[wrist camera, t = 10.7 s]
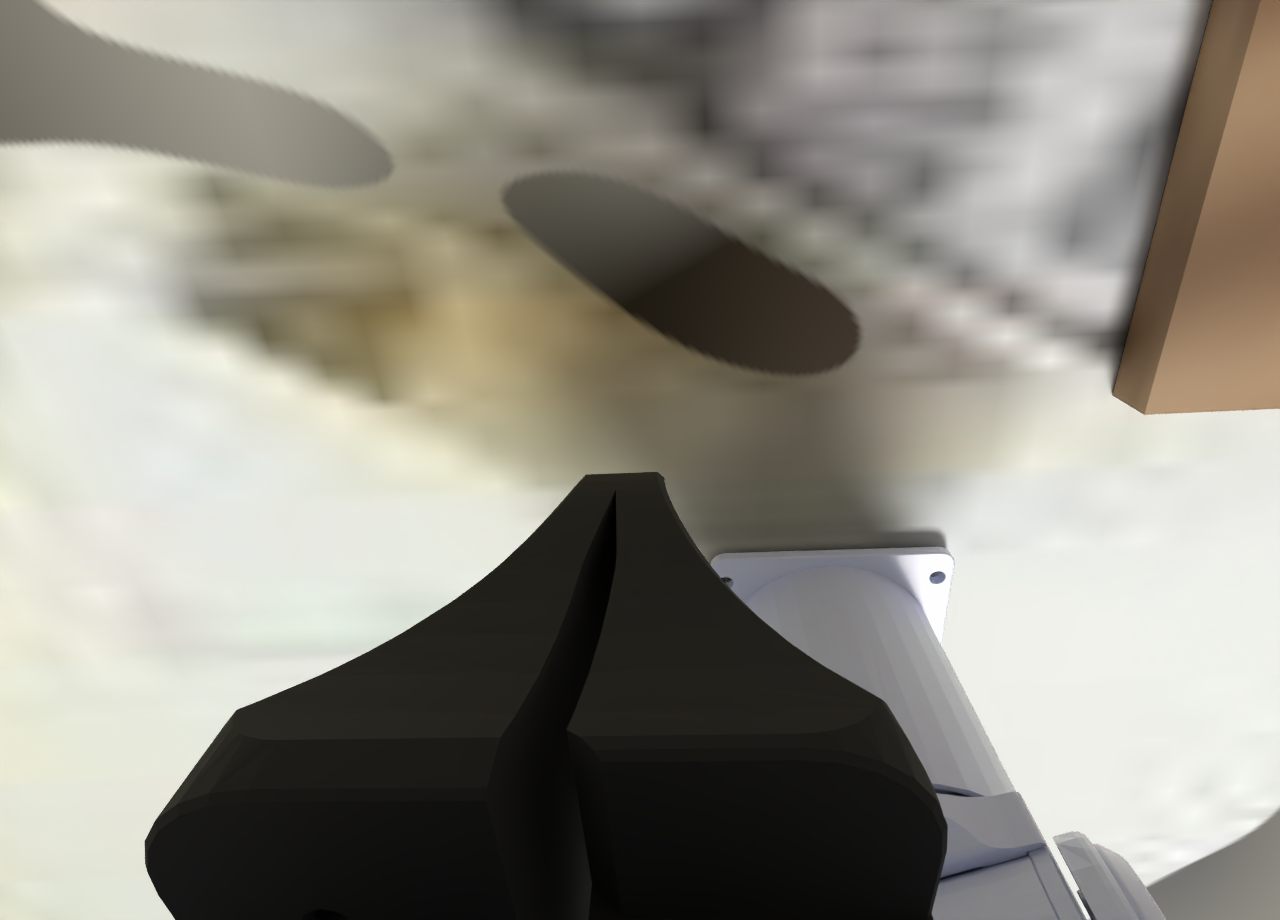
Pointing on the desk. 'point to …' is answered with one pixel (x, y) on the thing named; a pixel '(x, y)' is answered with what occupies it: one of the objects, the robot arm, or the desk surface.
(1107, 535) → the desk surface
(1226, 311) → the mount
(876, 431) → the desk surface
